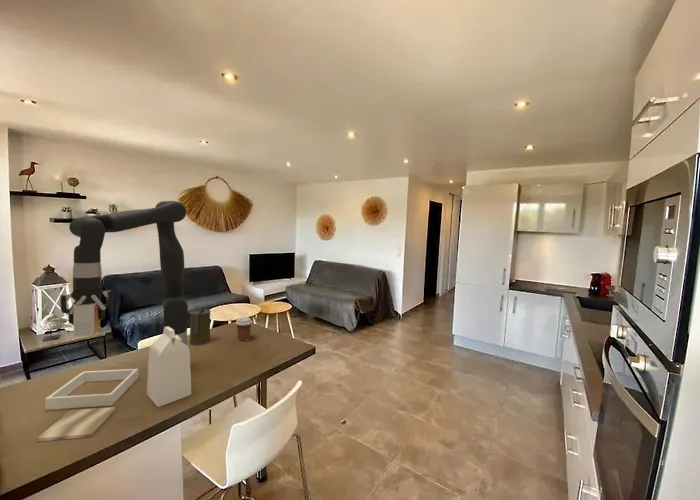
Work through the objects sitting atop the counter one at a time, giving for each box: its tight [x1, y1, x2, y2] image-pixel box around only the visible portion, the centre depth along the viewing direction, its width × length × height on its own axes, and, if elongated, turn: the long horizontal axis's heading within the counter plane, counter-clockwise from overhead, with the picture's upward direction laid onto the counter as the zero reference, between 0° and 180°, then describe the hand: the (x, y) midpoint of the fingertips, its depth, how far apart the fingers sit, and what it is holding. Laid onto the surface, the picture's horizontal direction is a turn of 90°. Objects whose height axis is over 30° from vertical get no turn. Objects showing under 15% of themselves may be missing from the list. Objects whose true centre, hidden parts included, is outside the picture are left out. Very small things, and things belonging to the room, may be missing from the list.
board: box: [36, 406, 118, 443], centre depth 98 cm, size 14×14×1 cm
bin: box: [44, 368, 139, 411], centre depth 116 cm, size 20×20×4 cm
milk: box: [146, 326, 192, 408], centre depth 116 cm, size 12×12×26 cm
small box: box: [73, 303, 101, 338], centre depth 106 cm, size 8×6×10 cm
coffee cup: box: [235, 316, 253, 341], centre depth 175 cm, size 9×9×12 cm
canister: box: [189, 305, 211, 346], centre depth 168 cm, size 11×10×20 cm
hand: (87, 321), depth 106 cm, fingers closed on small box, 7 cm apart
